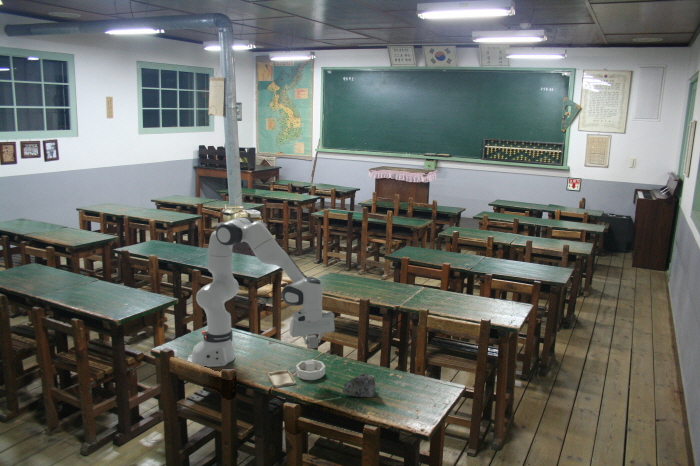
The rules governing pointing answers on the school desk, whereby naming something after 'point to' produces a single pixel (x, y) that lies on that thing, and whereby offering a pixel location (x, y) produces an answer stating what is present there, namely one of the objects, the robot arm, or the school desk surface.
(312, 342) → the grey rectangular block
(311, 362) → the grey cube
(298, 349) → the school desk surface
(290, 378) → the tray
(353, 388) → the mineral rock
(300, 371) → the bowl
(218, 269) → the robot arm
